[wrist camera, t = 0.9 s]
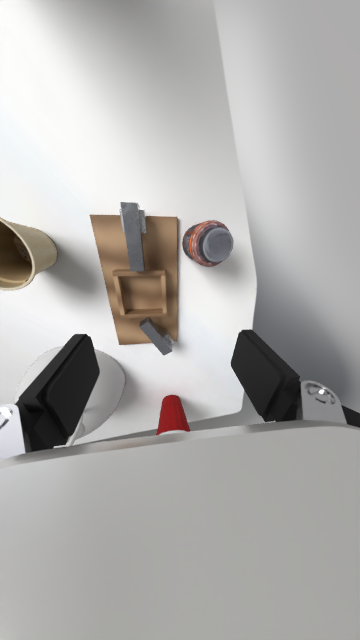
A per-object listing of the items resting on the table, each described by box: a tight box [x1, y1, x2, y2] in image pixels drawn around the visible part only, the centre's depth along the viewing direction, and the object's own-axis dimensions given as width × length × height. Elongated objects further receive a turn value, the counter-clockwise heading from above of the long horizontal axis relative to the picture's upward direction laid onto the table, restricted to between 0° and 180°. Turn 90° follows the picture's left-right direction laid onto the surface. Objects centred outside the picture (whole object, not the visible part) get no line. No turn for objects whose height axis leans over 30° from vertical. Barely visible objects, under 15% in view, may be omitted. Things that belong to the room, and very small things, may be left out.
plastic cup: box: [156, 395, 190, 435], centre depth 45 cm, size 11×11×12 cm
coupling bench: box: [90, 215, 177, 345], centre depth 30 cm, size 26×14×3 cm, turn 179°
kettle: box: [14, 346, 126, 447], centre depth 32 cm, size 25×23×22 cm
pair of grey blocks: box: [120, 202, 174, 355], centre depth 29 cm, size 28×8×5 cm, turn 179°
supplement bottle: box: [182, 221, 233, 267], centre depth 24 cm, size 6×6×11 cm
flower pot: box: [0, 217, 57, 290], centre depth 22 cm, size 9×9×9 cm
